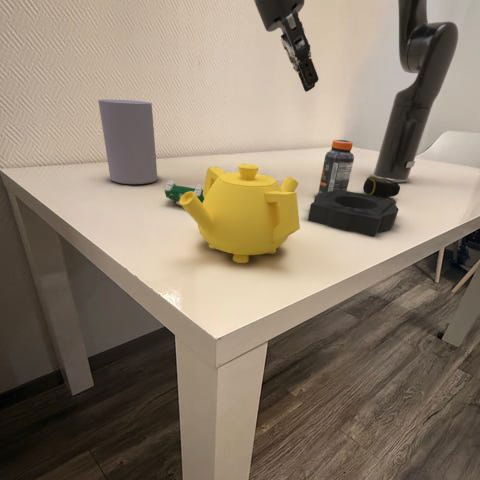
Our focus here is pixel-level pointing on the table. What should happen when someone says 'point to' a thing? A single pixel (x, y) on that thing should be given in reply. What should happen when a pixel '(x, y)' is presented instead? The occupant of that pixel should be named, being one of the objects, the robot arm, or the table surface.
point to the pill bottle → (337, 167)
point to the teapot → (244, 211)
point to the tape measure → (380, 187)
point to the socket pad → (353, 212)
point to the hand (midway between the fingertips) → (311, 87)
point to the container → (129, 141)
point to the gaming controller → (182, 191)
